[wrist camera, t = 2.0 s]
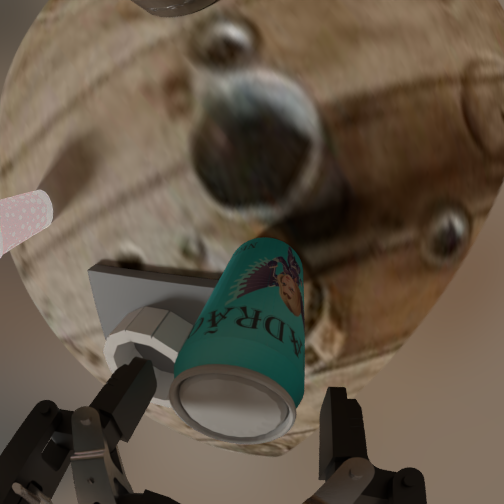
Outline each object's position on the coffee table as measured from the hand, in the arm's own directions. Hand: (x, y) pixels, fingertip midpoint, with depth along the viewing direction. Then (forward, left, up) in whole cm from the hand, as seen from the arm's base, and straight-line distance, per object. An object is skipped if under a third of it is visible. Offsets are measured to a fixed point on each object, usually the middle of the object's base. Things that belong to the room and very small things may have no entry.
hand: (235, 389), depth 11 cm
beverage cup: (-4, -26, -14) cm, 30 cm away
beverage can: (0, 0, -14) cm, 14 cm away
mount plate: (+10, -10, -13) cm, 19 cm away
